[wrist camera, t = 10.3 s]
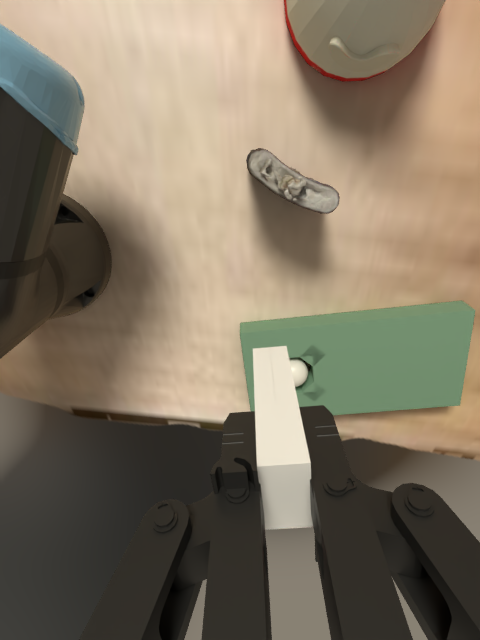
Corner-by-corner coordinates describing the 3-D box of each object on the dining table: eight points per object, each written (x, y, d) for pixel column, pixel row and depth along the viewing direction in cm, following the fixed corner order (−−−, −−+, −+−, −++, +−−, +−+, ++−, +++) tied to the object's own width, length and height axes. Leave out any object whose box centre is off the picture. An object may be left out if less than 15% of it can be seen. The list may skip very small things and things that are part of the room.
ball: (279, 376, 51) (278, 393, 47) (276, 352, 49) (276, 368, 45) (307, 375, 50) (309, 392, 46) (306, 350, 48) (308, 366, 45)
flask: (327, 186, 40) (350, 196, 30) (312, 210, 41) (331, 228, 31) (253, 144, 38) (253, 141, 28) (240, 171, 39) (236, 177, 30)
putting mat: (252, 407, 53) (252, 421, 50) (240, 322, 47) (239, 333, 44) (448, 391, 51) (459, 405, 48) (461, 300, 45) (475, 310, 42)
